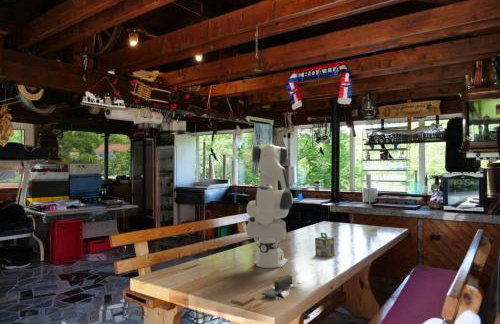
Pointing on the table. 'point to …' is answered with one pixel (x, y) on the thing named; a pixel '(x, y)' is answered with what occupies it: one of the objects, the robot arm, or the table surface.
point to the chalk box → (324, 246)
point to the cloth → (284, 292)
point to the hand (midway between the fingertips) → (266, 246)
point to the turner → (278, 286)
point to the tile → (242, 299)
